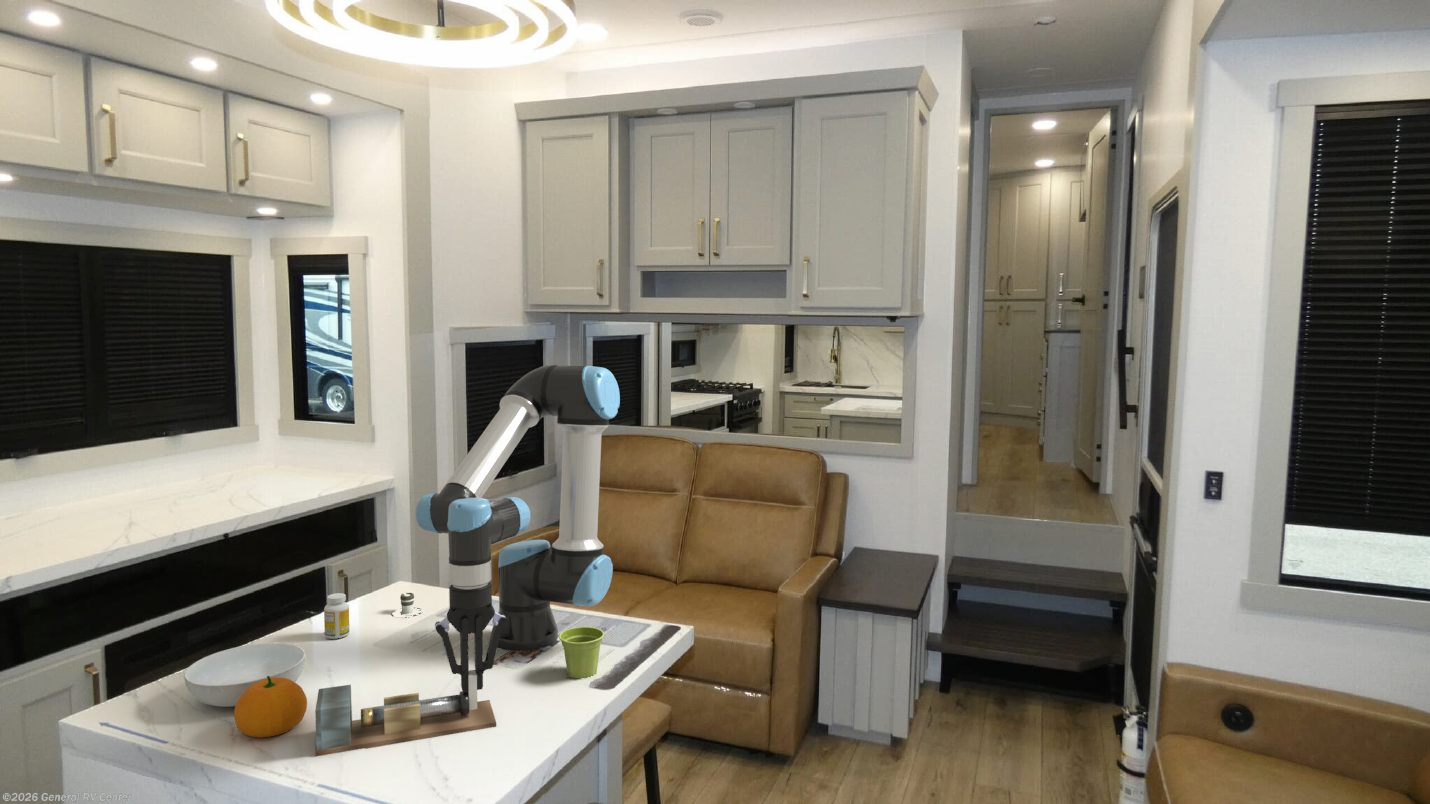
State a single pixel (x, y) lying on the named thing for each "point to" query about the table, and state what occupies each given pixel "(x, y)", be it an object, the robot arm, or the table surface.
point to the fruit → (270, 707)
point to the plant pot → (581, 650)
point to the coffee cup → (407, 603)
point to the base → (386, 722)
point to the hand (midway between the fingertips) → (472, 706)
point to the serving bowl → (241, 671)
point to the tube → (427, 708)
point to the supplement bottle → (336, 616)
